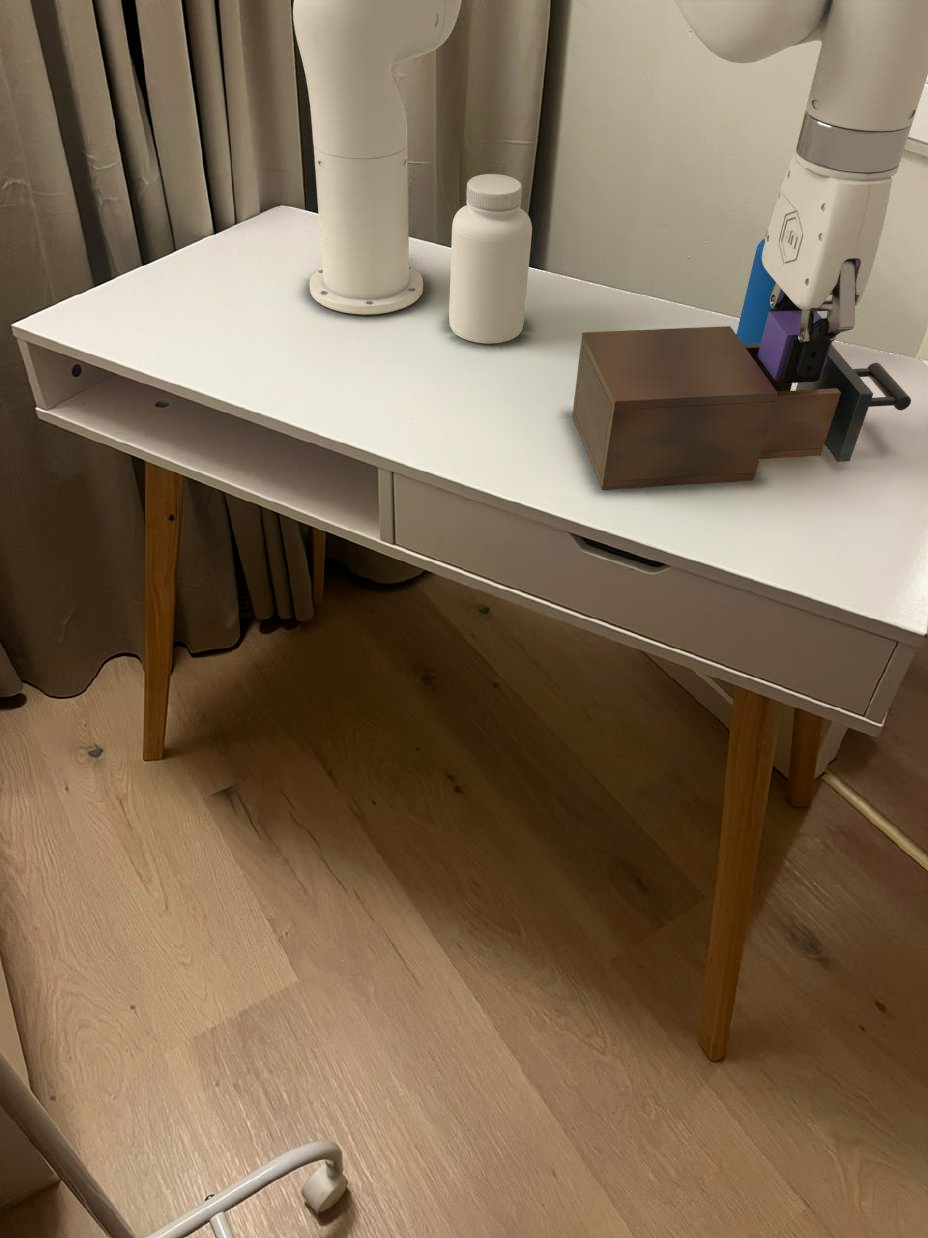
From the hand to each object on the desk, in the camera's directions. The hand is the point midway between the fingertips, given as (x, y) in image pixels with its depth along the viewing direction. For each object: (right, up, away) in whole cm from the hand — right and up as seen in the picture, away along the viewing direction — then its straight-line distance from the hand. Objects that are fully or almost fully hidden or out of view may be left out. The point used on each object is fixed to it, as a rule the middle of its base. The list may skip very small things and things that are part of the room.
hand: (788, 364), depth 86 cm
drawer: (+2, -5, +5) cm, 7 cm away
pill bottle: (-26, +9, +20) cm, 34 cm away
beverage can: (+3, +5, +18) cm, 19 cm away
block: (0, 0, 0) cm, 0 cm away
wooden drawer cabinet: (-10, -6, +4) cm, 13 cm away
